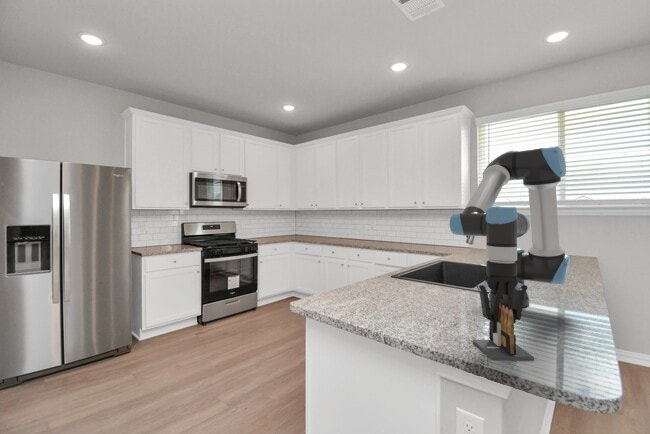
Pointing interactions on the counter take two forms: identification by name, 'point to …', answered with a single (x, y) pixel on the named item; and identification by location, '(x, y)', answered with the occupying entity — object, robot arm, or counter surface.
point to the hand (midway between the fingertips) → (501, 343)
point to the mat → (501, 351)
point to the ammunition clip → (506, 330)
